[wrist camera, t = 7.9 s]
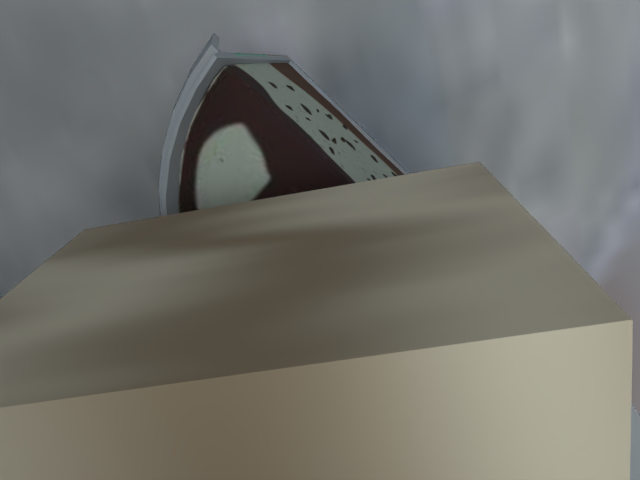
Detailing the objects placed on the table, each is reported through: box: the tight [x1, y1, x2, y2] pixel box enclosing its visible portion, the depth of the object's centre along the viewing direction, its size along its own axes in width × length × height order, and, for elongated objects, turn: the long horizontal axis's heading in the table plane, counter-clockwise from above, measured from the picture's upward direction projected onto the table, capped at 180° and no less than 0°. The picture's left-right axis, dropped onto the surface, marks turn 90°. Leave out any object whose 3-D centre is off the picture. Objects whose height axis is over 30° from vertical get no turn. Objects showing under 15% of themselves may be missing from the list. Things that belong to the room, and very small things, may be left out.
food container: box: [158, 34, 408, 216], centre depth 19 cm, size 12×6×10 cm, turn 47°
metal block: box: [0, 162, 633, 480], centre depth 10 cm, size 8×8×6 cm
